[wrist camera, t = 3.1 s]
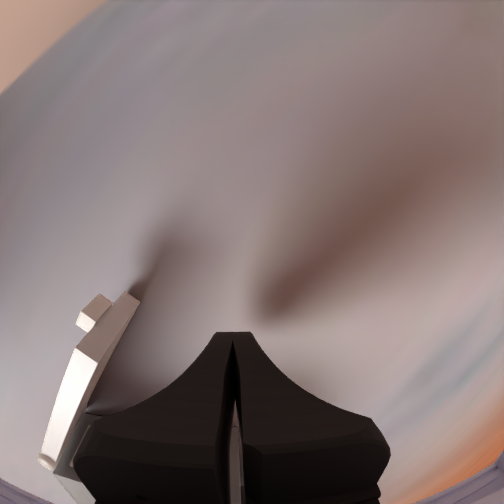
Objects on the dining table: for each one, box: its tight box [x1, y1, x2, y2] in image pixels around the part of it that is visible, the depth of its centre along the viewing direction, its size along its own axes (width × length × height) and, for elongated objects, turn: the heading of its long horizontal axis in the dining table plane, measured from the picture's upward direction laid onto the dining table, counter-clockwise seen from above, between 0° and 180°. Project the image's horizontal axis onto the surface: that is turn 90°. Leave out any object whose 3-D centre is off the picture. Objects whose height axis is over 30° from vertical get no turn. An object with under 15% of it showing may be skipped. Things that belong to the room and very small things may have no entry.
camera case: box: [53, 413, 245, 504], centre depth 12 cm, size 10×7×6 cm
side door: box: [37, 292, 140, 470], centre depth 10 cm, size 9×2×5 cm, turn 145°
